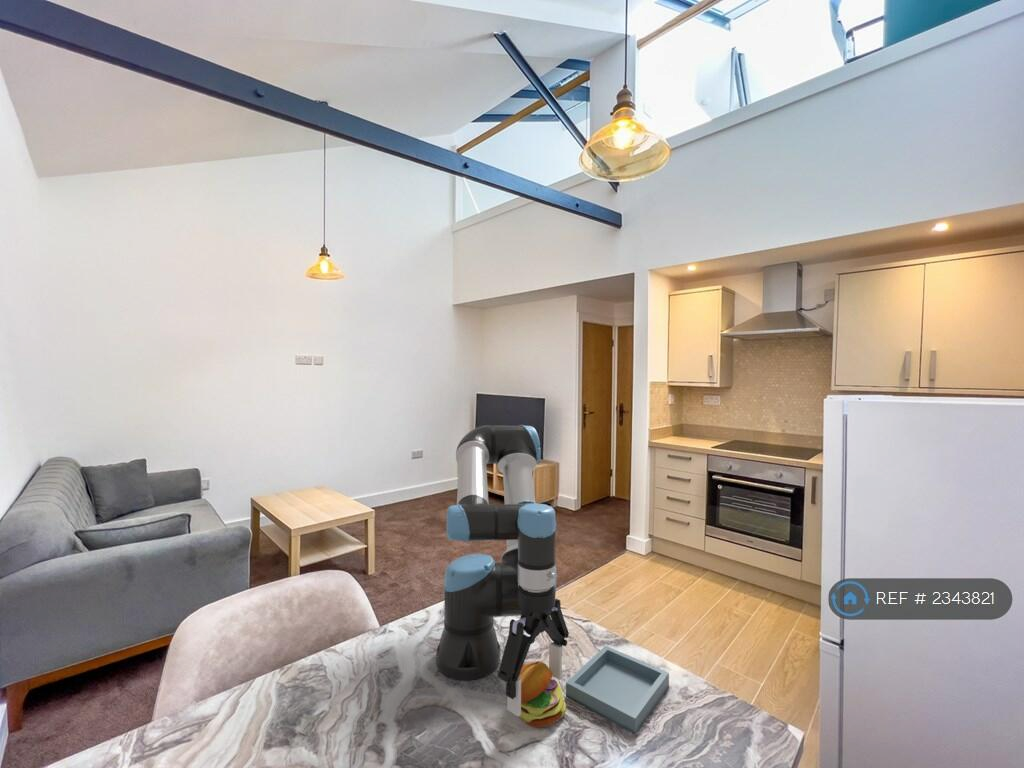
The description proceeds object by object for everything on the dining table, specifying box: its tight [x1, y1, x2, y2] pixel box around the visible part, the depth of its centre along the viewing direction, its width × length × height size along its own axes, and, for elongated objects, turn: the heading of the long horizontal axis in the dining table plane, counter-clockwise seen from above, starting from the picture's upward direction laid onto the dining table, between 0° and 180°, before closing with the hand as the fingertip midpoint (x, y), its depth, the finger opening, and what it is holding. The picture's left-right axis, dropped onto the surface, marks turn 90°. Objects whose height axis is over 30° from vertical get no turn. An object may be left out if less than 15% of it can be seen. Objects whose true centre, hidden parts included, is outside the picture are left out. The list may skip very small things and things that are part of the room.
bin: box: [565, 645, 670, 736], centre depth 92 cm, size 15×17×3 cm
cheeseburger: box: [519, 660, 567, 728], centre depth 87 cm, size 10×11×10 cm
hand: (535, 693), depth 86 cm, fingers open, 13 cm apart
